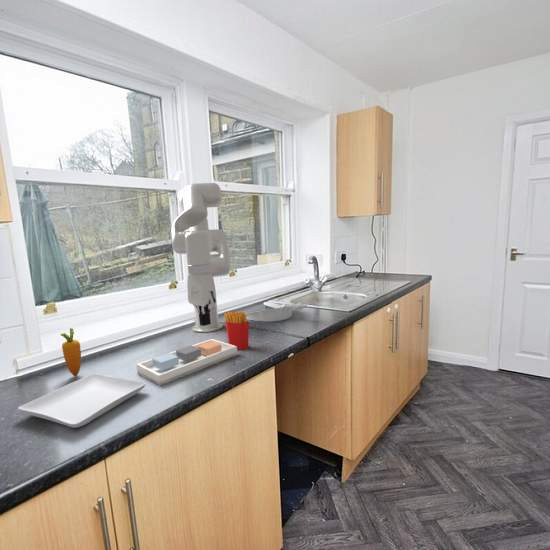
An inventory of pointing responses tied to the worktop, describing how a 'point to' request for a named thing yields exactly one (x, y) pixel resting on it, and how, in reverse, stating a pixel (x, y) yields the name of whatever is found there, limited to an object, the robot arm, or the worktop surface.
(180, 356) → the charcoal key
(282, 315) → the frying pan
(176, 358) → the dusty blue key
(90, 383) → the salad plate
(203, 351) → the terracotta key
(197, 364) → the white rectangular tray
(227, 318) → the french fries
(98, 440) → the worktop surface
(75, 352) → the carrot
